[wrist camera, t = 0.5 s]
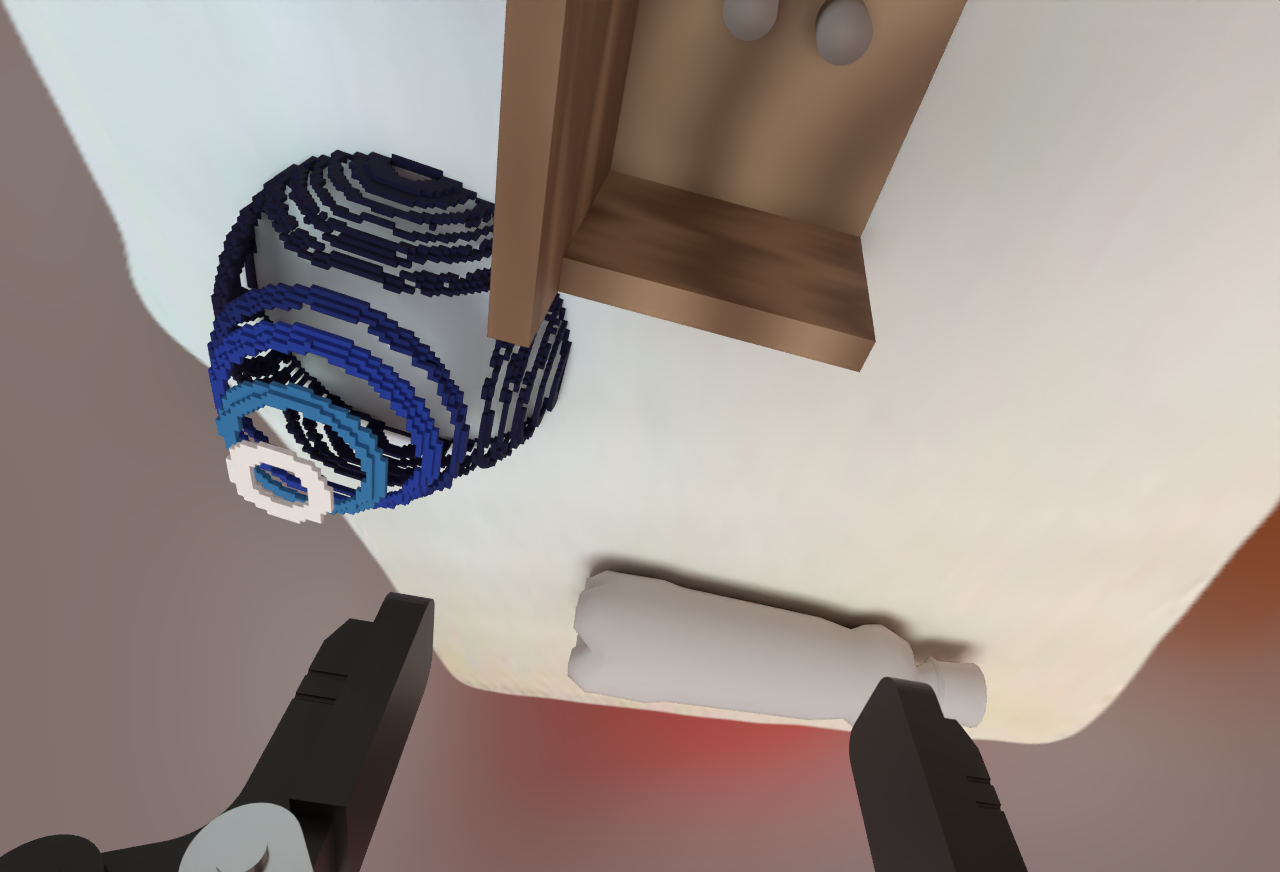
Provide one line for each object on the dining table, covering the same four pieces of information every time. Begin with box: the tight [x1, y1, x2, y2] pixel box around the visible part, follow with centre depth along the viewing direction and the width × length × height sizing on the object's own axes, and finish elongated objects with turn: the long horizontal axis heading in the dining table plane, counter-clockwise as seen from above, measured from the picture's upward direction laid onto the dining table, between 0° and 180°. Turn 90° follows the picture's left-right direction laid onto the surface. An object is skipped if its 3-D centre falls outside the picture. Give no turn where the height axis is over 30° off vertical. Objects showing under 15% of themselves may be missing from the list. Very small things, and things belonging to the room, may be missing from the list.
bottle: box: [568, 570, 987, 728], centre depth 52 cm, size 9×9×30 cm
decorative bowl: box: [207, 150, 572, 524], centre depth 37 cm, size 20×20×14 cm
